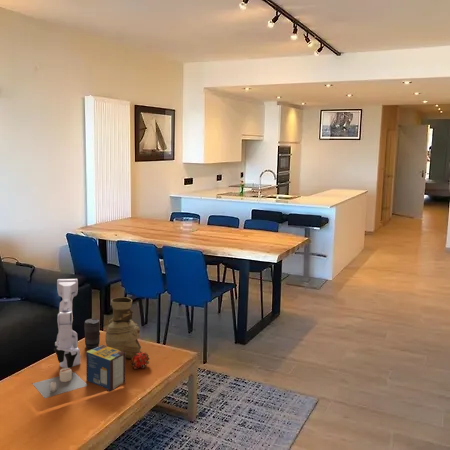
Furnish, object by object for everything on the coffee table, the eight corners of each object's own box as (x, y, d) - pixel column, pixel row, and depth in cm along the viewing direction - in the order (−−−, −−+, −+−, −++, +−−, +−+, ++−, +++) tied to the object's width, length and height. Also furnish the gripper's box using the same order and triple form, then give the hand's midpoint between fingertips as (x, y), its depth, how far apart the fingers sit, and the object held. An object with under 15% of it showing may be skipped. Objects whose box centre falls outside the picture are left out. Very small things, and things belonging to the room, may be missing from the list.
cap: (68, 375, 235) (68, 366, 234) (73, 379, 231) (73, 370, 230) (58, 378, 232) (58, 369, 231) (62, 382, 228) (62, 373, 227)
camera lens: (88, 343, 275) (88, 317, 272) (102, 344, 273) (102, 319, 271) (82, 349, 267) (81, 322, 264) (96, 350, 266) (96, 324, 263)
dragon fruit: (149, 365, 254) (134, 377, 245) (138, 353, 256) (122, 365, 246) (156, 356, 250) (140, 368, 240) (144, 344, 252) (129, 355, 242)
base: (74, 374, 239) (74, 365, 238) (88, 387, 226) (88, 378, 226) (32, 385, 226) (32, 376, 225) (44, 400, 214) (44, 390, 213)
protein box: (101, 374, 240) (102, 344, 237) (125, 383, 232) (126, 352, 229) (85, 382, 231) (85, 351, 228) (109, 392, 223) (110, 360, 221)
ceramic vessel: (151, 350, 269) (152, 297, 264) (126, 364, 251) (126, 308, 246) (123, 342, 278) (124, 291, 273) (97, 355, 259) (97, 301, 254)
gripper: (49, 334, 229) (49, 362, 232) (66, 344, 220) (66, 372, 222) (62, 330, 235) (62, 357, 237) (80, 339, 225) (80, 367, 228)
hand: (65, 364), depth 230 cm, fingers open, 7 cm apart
